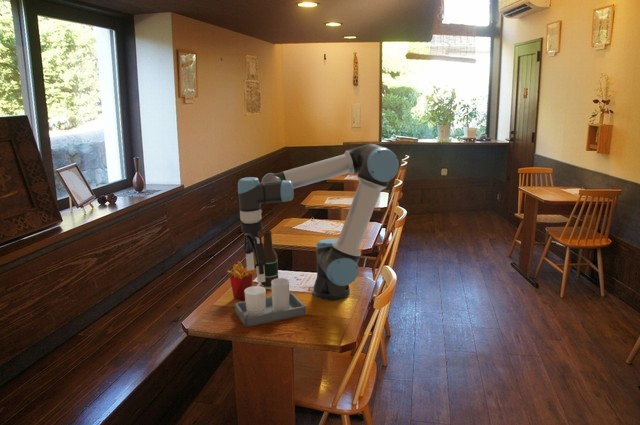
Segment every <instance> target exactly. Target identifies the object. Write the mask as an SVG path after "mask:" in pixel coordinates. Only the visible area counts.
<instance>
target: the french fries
mask: <svg viewBox="0 0 640 425" xmlns="http://www.w3.org/2000/svg"><path fill="white" fill-rule="evenodd" d="M232 267H233V271H232V270H227V273H228V274H231V275H230V276H229V278H230V279H229V280H230V284H231V290H232V295H233V299H234V300H238V301H239V302H244V301H245V292H244V290H245V289H246V288H248V287H252V285H253V284H252V282H253V274H252V273H250V270H249V271H247V266H246V267H245V268H244V265H243V263H242V262H241V261H237V264H236V263H235V264H233V265H232Z"/></svg>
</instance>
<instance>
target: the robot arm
mask: <svg viewBox="0 0 640 425" xmlns="http://www.w3.org/2000/svg"><path fill="white" fill-rule="evenodd" d="M399 166H400V165H399V159H398V157H397V155H396V154H395V153H394V152H393V151H392V150H391V149H389V148H388V147H384V146H382V145H379V144H376V143H368V144H364V145H361V146H358V147H355V148H351V149H347V150H345V152H344V153H343V154H340V155H337V156H333V157H329V158H326V159H323V160H319V161H315V162H312V163H309V164H305V165H301V166H298V167H294V168H290V169H288V170H283V171H281V172H280V171H279V172H277V173H272V172H269V173H266V174H265V175H264V176H263V177H262V179H261V182H260V180H259V178H258V177H254V176H252V177H251V176H248V177H247V176H246V177H243V178H240V179H239V180H238V181H237V192H238V193H237V194H238V195H237V196H238V203H239V218H240V222H241V223H240V226H241V227H240V228H241V232H242V233H244V235H243V236H244V237H243V251H244V252H245V259H246V260H245V261H246V262H245V263H246V267H247V271H249V272H250V271H253V270H255V268H256V277H257V278H256V280H257V283H258V284H261V282H265V269H264V265H266V261H265V256H264V251H263V246H264V245H263V242H262V240H263V239H262V237H260V235H259V233H260V232H262V231H263V220H262V213H263V209H262V206H261V205H262V204H271V203H272V204H273V203H282V202H283V203H285V202H290V201H292V200H293V199H294V194H295V193H294V189H297V188H301V187H304V186H308V185H311V184H315V183H319V182H322V181H326V180H329V179H332V178H333V179H334V178H336V177H340V176H342V175H343V176H344V175H347V174H350V175H356V174H357V179H358V185H357V188H356V191H355V194H354V196H353V199H352V201H351V204H350V207H349V210H348V212H347V215H346V218H345V221H344V222H343V226H342V228H341V231H340V234H339V237H338V238H326V239H325V238H324V239H320V240H318V241H317V243H316V273H317V274H316V278H315V282H314V284H313V286H312V287H313V288H312V290H313V291H312V292H313V296H314V297H316V298H317V299H319V300H323V301H324V300H325V301H340V300H344V299H345V298H348V297H349V295H350V293H351V292H350V290H351V289H350V284H352V283H354V282H355V281H356V279H357V278H358V276H359V271H360V270H359V265H358V264H359V261H360V259H361V255H362V253H361V251H360V247H361V245H362V242H363V239H364V236H365V233H366V231H367V228H368V225H369V223H370V220H371V218H372V215H373V212H374V210H375V208H376V204H377V202H378V199H379V197H380V194H381V192H382V191H383V190H385V189H387V187H388V185H389V182H390V181H391V180H393V179H394V177H396V175H397V174H398V171H399ZM254 259H255V261H254ZM255 262H256V263H255Z"/></svg>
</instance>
